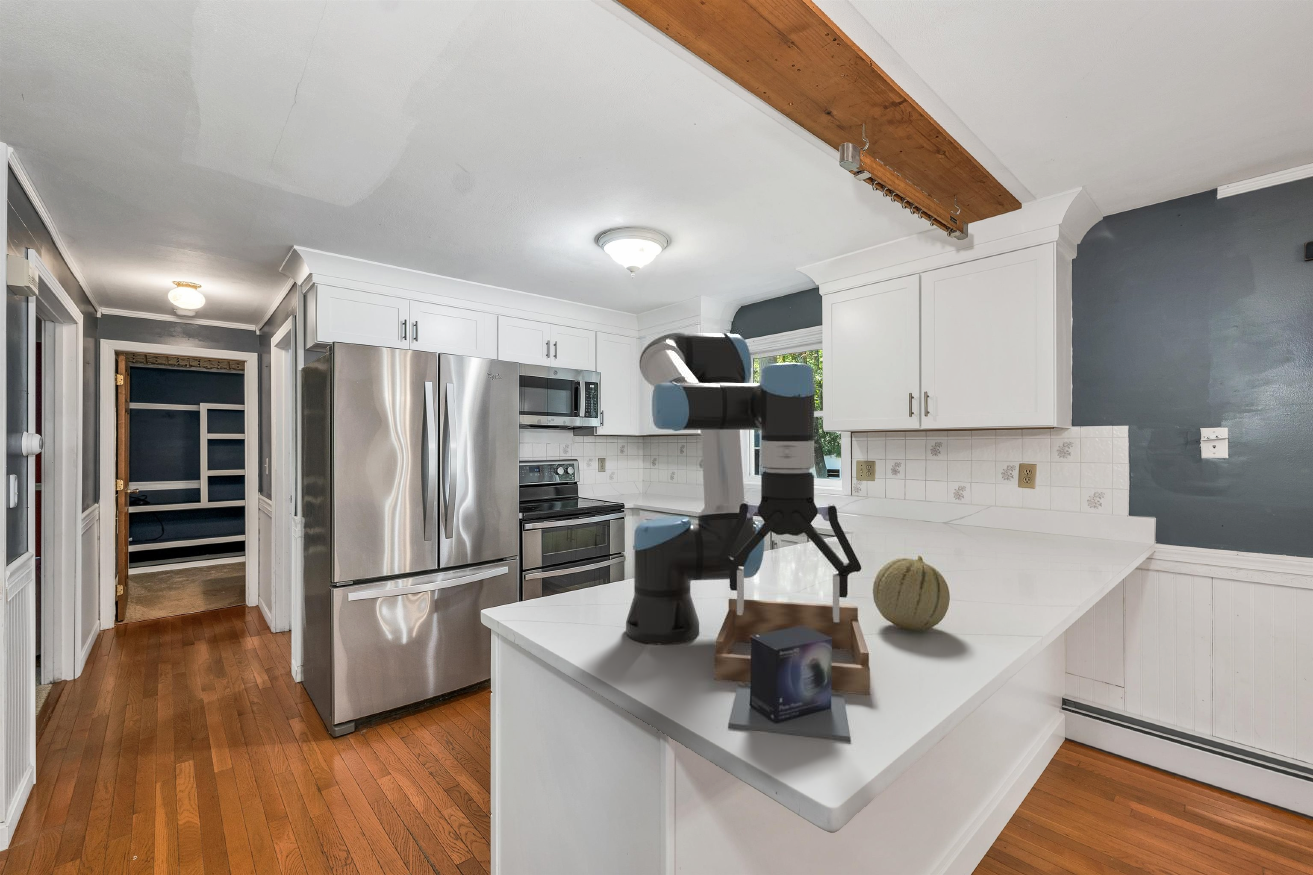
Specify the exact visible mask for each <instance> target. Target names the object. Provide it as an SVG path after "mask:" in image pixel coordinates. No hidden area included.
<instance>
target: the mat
mask: <svg viewBox="0 0 1313 875" xmlns="http://www.w3.org/2000/svg"><path fill="white" fill-rule="evenodd" d="M845 701H846V700H845V698H844V694H843V693H835V692H833V693H832V692H831V708H829V709H826V710H822V711H818V712H815V713H811V714H807V715H804V716H800V717H797V718H793V719H789V720H786V721H782V722H779V723H774V722H773V721H771V720H770V719H768V718H767V717H765V716H764V715H763V714H761V713H760V712H758V711H757V710H755V709H754V708H752V707H751V706H750V705H749V703H750V684H749V685H748V684H737V687H736V692H735V695H734V699H733V703H732V708H731V711H730V715H729V719H728V723H727V725H728V728H733V729H740V730H748V731H757V732H758V731H760V732H767V733H768V732H769V733H778V734H783V735H793V736H803V737H809V738H819V739H826V740H827V739H829V740H838V741H844V742H851V732H850V731H851V730H850V726H849V721H848V720H849V719H848V714H847V708H846V703H845Z"/></svg>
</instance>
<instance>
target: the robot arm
mask: <svg viewBox="0 0 1313 875" xmlns="http://www.w3.org/2000/svg"><path fill="white" fill-rule="evenodd" d="M638 362H639V369H640V373H641V375H642V377H643V379H644V380H645V381H646V382H647V383H648V384H649V385H651V386H652V387H653V390H652V398H651V415H652V423H653V425H654V427H656V428H657V429H659V430H668V431H669V430H670V431H671V430H672V431H673V432H678V431H700V440H701V443H700V445H701V460H702V461H701V463H702V464H701V466H702V480H703V482H702V483H703V500H704V502H703V503H704V507H703V509H702V510H700V512H699V513H698V515H697V523H692V521H691V519H690V518H689V517H688V516H684V515H683V516H682V515H680V516H679V515H678V516H665V517H659V518H653V519H650V520H646V521H644V522H640V524H638V525H637V526H636V528H635V529H634V540H633V544H632V545H633V546H632V547H633V550H634V552H633V553H634V558H633V560H634V564H633V565H634V566H633V567H634V569H633V570H634V575H633V579H634V580H633V584H634V586H633V588H634V592H633V596H632V597H633V599H632V600H631V601H632V602H631V604H630V607H629V609H628V610H629V611H628V613H627V617H626V620H625V634H626V636H627V637H629V638H630V639H631V640H634V641H637V642H639V643H645V644H655V645H671V644H672V645H673V644H679V643H684V642H688V641H691V640H693V639H695V638H696V637H698V636H699V634H700V620H699V616H698V614H697V610H696V607H695V605H694V602H693V599H692V595H691V582H692V581H715V580H716V581H719V580H729V588H730V591H736V599H737V615H742V614H743V611H744V599H745V579H751V578H753V577H754V576H756V575H757V574H758V572H759V571H760V568H761V567H762V564H763V559H764V555H765V554H764V553H765V537H766V536H767V535H768V534H769V533H770V532H772V533H773V534H775V535H776V536H783V535H790V536H792V537H793V536H796V537H797V536H799V535H802V534H803V533H804V535H806V536H807V537H808V539H809V540H811V541H812V543H813V544H814V545H815V546H816V547H817V549H818V550H819V552H820V553H821V554H822V555H823V556H824V557H825V559H827V561H828V562H829V563H830V564H831V565H832V567H833V568H834V569H835V570H836V571H832V605H833V621H834V622H839V605H840V598H841V599H843V598H844V599H845V598H848V590H849V589H848V586H849V585H848V584H849V581H848V578H849V575H850V574H852V573H858V572H861V570H862V565H861V563H860V561H859V559H858V557H857V555H856V553H855V551H854V549H853V547H852V545H851V543H850V541H849V540H848V537H847V535H846V533H845V531H844V529H843V527H842V526H841V524H840V522H839V519H838V517H839V516H838V510H837V506H836V505H835V504H833V503H829V504H828V505H822V506H821V505H820V506H817V505H816V503H815V474H813V472H811V469H813V468H814V467H815V394H816V387H815V379H814V378H815V377H814V369H813V367H812V366H811V365H809V364H808V363H807V364H806V363H799V362H783V363H782V362H781V363H772V364H767V365H764V367H763V368H762V369H761V375H760V383H750V381H751V378H752V366H753V365H752V358H751V351H750V349H749V346H748V344H747V341H746V340H745V339H744V337H742V336H741V335H739V334H736V333H734V334H733V333H727V332H720V333H716V332H715V333H714V332H713V333H711V332H710V333H709V332H708V333H707V332H698V333H697V332H671V333H667V334H664V335H662V336H659V337H657V338H655V339H653V340H652V341H651V342H649V343H648V344H647V345H646V346H645V347H644V349H643V350H642V351H641V355H640V357H639V361H638ZM741 430H742V431H760V433H761V437H760V440H761V441H760V447H761V448H760V449H761V450H760V451H761V452H760V455H761V456H760V459H761V460H760V462H761V463H760V464H761V465H760V466H761V468H763V469H764V471H763V472H762V473H761V475H760V476H761V477H760V479H761V480H760V481H761V482H760V483H761V484H760V485H761V488H760V489H761V490H760V497H761V498H760V503H759V504H756V503H755V504H754V503H749V502H748V501H745V499H746V498H745V486H744V473H743V457H742V444H741V442H742V440H741ZM755 513H757V514H758V515H759V517H760V518H761V519H762V520H763V523H762V524H761V522H757V521H756V520H754V514H755ZM818 515H820V516H821V517H822V519H823V520H824V521H826V522H829V525H830V528H831V530H832V532H833V534H834V535H835V537H836V539H837V541H838V543H839V546H840V547H841V548H842V551H843V553H844V555H845V557H846V559H847V561H848V562H845V563H844V561H843V560H842V559H841V558H840V557H839V555H837V553H836V552H835V551H834V550H833V549H832V547H831V546H830V545H829V543H827V542H826V540H825V539H824V538H823V536H821V534H820V533H819V532H818V531H817V529H816V528H815V527H814V526H813V525H812V522H813V521H814V519H815V518H817V516H818Z"/></svg>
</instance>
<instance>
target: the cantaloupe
mask: <svg viewBox="0 0 1313 875" xmlns="http://www.w3.org/2000/svg"><path fill="white" fill-rule="evenodd" d="M923 560H924V559H923V557H922V556H921V555H918V556H917V559H913V558H907V557H906V558H905V557H902V558H900V557H899V558H896V559H893V560H891V561H889V562H887V563H886V564H885V565H883V567H882V568H880V570H878V571H877V574H876V576H875V578H874V581H873V586H872V596H873V602H874V605H875V606H876V609H877V610H878V612H879V614H881V616H882V617H883V619H885V620H886V621H887V622H890V624H893V625H894V626H896V627H898V628H900V629H901V630H902V629H903V630H905V631H906V630H908V631H914V632H918V631H919V632H920V631H925V630H926V631H927V630H929V629H931V628H934V627H936V626H937V625H939V624H940V622H942V620H943V619H944V618H945V617H946V615H947V612H948V610H949V607H950V599H951V597H950V596H951V595H950V590H949V586H948V583H947V581H946V579H945V577H944V576H943V575H942V573H940V571H939V570H937V569H936V568H935V567H934V566H933V565H930V564H928V563H926V562H925V561H923Z"/></svg>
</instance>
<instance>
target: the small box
mask: <svg viewBox="0 0 1313 875" xmlns="http://www.w3.org/2000/svg"><path fill="white" fill-rule="evenodd" d="M750 640H751V642H750V656H751V662H750V663H751V665H750V668H751V670H750V683H749V685H750V703H749V705H750V706H751V707H752V708H754V709H755V710H757V711H758V712H760V713H761V714H763V715H764V716H765V717H767V718H768V719H770V720H771V721H773V722H774V723H779V722H782V721H786V720H789V719H793V718H797V717H800V716H804V715H807V714H811V713H815V712H818V711H822V710H826V709H829V708H831V693H832V691H831V663H832V650H833V649H832V638H831V637H828V636H826V635H824V634H822V633H819V632H817V631H815V630H813V629H811V628H808V627H806V626H798V627H793V628H788V629H783V630H777V631H772V632H767V633H761V634H756V635H751V636H750Z"/></svg>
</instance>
